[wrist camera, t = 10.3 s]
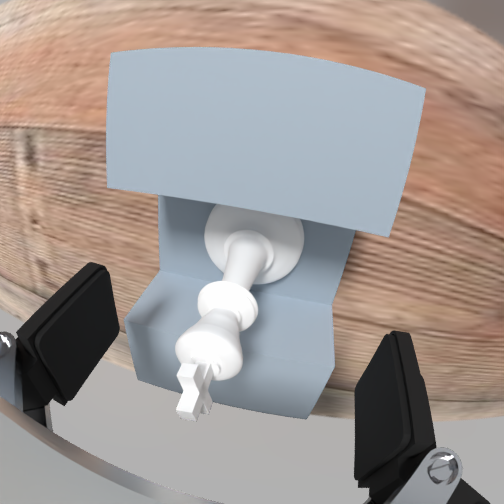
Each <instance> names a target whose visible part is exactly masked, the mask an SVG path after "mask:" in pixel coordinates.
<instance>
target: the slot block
mask: <svg viewBox="0 0 504 504" xmlns="http://www.w3.org/2000/svg"><path fill="white" fill-rule="evenodd" d="M425 91H426V88H423V87H420V86H417V85H415V84H412V83H409V82H406V81H403V80H400V79H397V78H394V77H390V76H387V75H384V74H380V73H377V72H373V71H370V70H366V69H362V68H358V67H354V66H350V65H346V64H342V63H337V62H332V61H328V60H323V59H317V58H312V57H306V56H300V55H293V54H286V53H279V52H271V51H261V50H250V49H237V48H215V47H175V48H154V49H141V50H130V51H121V52H113V53H111V58H110V68H109V80H108V95H107V119H106V164H107V188H113V189H121V190H128V191H136V192H143V193H150V194H157V195H158V225H159V259H160V271H159V272H158V274H157V275H156V276H155V278H154V279H153V280H152V282H151V283H150V284H149V286H148V287H147V288H146V290H145V291H144V292H143V294H142V295H141V296H140V298H139V299H138V301H137V302H136V303H135V305H134V306H133V307H132V309H131V310H130V312H129V313H128V314H127V316H126V317H125V319H124V323H125V328H126V333H127V337H128V342H129V346H130V351H131V355H132V359H133V363H134V367H135V371H136V375H137V378H138V380H140V381H143V382H146V383H149V384H152V385H155V386H158V387H162V388H165V389H168V390H171V391H175V392H178V393H181V394H182V393H183V389H182V386H181V384H180V382H179V380H178V378H177V373H178V371H179V369H180V367H181V363H180V361H179V360H178V358H177V356H176V352H175V345H176V342H177V340H178V338H179V337H180V336H181V335H182V334H183V333H184V332H185V331H186V330H187V329H189V328H190V327H192V326H193V325H195V324H196V323H197V322H198V321H199V320H200V319H201V318H202V317H201V315H200V313H199V311H198V295H199V293H200V291H201V290H202V289H203V287H205V286H206V285H208V284H209V283H212V282H216V281H222V279H223V275H224V273H223V272H222V271H221V270H220V269H219V268H218V267H217V266H216V265H215V264H214V263H213V261H212V260H211V258H210V256H209V254H208V252H207V249H206V246H205V239H204V233H205V226H206V223H207V220H208V218H209V215H210V213H211V211H212V210H213V208H214V207H215V205H216V204H221V205H227V206H233V207H239V208H245V209H250V210H256V211H262V212H267V213H273V214H278V215H283V216H289V217H294V218H299V219H300V220H301V223H302V226H303V230H304V246H303V250H302V253H301V255H300V258H299V260H298V262H297V264H296V265H295V267H294V268H293V269H292V270H291V271H290V272H289V273H288V274H287V275H286V276H284V277H283V278H281V279H279V280H277V281H274V282H271V283H267V284H253V285H252V287H251V288H250V290H249V292H250V293H251V294H252V295H253V296H254V298H255V300H256V302H257V305H258V315H257V318H256V320H255V321H254V322H253V323H252V325H251V326H250V327H249V328H247V329H246V330H244V331H241V332H239V333H240V335H239V338H240V344H241V347H242V354H243V365H242V368H241V370H240V372H239V373H238V374H237V375H236V376H234V377H232V378H230V379H227V380H221V381H214V380H211V382H210V385H209V388H208V392H209V394H210V397H211V399H212V402H215V403H220V404H224V405H228V406H233V407H237V408H242V409H247V410H252V411H257V412H262V413H268V414H274V415H280V416H286V417H293V418H300V419H307V418H308V416H309V414H310V413H311V411H312V409H313V407H314V406H315V404H316V402H317V400H318V398H319V396H320V394H321V393H322V391H323V389H324V387H325V385H326V383H327V381H328V379H329V377H330V375H331V373H332V371H333V369H334V367H335V358H334V335H333V317H332V303H333V300H334V297H335V294H336V292H337V289H338V286H339V283H340V280H341V277H342V274H343V271H344V267H345V264H346V261H347V258H348V255H349V252H350V248H351V245H352V242H353V238H354V235H355V232H356V230H358V231H362V232H367V233H371V234H376V235H380V236H385V237H389V234H390V231H391V228H392V225H393V222H394V219H395V216H396V213H397V209H398V206H399V203H400V199H401V196H402V192H403V189H404V185H405V182H406V178H407V174H408V171H409V167H410V163H411V159H412V155H413V151H414V146H415V142H416V137H417V133H418V128H419V123H420V119H421V113H422V108H423V103H424V97H425Z"/></svg>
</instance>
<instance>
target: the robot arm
mask: <svg viewBox="0 0 504 504" xmlns="http://www.w3.org/2000/svg"><path fill="white" fill-rule="evenodd" d="M119 329H120V327H119V322H118V317H117V312H116V307H115V302H114V297H113V291H112V285H111V279H110V274H109V272H108V271H107V269H106V267H105V266H103V265H100V264H96V263H93V262H89V263H88V264H87V265H85V266H84V267H83V268H82V269H81V270H80V271H79V272H78V273H76V274H75V275H74V276H73V277H72V278H71V279H70V280H69V281H68V282H67V283H65V284H64V285H63V286H62V287H61V288H60V289H59V290H58V291H57V292H56V293H55V294H54V295H53V296H52V297H51V298H50V299H49V300H48V301H46V302H45V303H44V304H43V305H42V306H41V307H40V308H39V309H38V310H37V311H36V312H35V313H34V314H33V315H32V316H31V317H30V318H29V319H28V320H27V321H26V322H25V323H24V324H23V326H22V327H21V328H20V329H19V330H18V331H17V332H16V333H17V335H18V338H17V339H16V340H15V338H14V336H13V335H12V334H11V333H8V332H0V504H223V503H218V502H215V501H211V500H207V499H203V498H200V497H196V496H193V495H190V494H186V493H183V492H180V491H177V490H174V489H171V488H168V487H165V486H163V485H160V484H157V483H154V482H152V481H149V480H147V479H144V478H142V477H139V476H137V475H134V474H132V473H129V472H127V471H125V470H123V469H121V468H118V467H116V466H114V465H112V464H110V463H108V462H106V461H104V460H102V459H100V458H97V457H96V456H94V455H91V454H90V453H88V452H86V451H84V450H82V449H80V448H79V447H77V446H75V445H73V444H72V443H70V442H68V441H67V440H64V439H63V438H62V437H60V436H58V435H57V434H55V433H53V429H52V422H51V414H50V405H49V402H50V401H51V399H52V398H53V399H54V400H55V401H57V402H58V403H60V404H62V405H63V406H65V405H66V403H67V401H71V400H72V399H73V398H74V397H75V395H76V394H77V392H78V391H79V389H80V388H81V387H82V385H83V384H84V382H85V380H86V379H87V378H88V376H89V375H90V374H91V372H92V371H93V369H94V368H95V366H96V365H97V364H98V362H99V361H100V359H101V358H102V357H103V355H104V354H105V352H106V351H107V350H108V348H109V347H110V345H111V344H112V343H113V341H114V340H115V339H116V337H117V336H118V333H119ZM461 476H462V463H461V460H460V458H459V456H458V455H457V454H456V453H455V452H454V451H453V450H451V449H449V448H444V447H440V448H436V441H435V435H434V429H433V422H432V417H431V411H430V406H429V401H428V396H427V391H426V387H425V382H424V379H423V377H422V376H421V374H420V370H419V366H418V362H417V358H416V354H415V350H414V346H413V342H412V339H411V336H410V334H409V333H406V332H400V331H392V332H391V333H390V334H386V335H385V336H384V338H383V340H382V341H381V343H380V345H379V347H378V349H377V351H376V352H375V354H374V356H373V358H372V359H371V361H370V363H369V365H368V366H367V368H366V370H365V371H364V373H363V375H362V376H361V378H360V380H359V381H358V383H357V385H356V388H355V462H354V478H355V480H358V488H369V498H368V499H367V501H366V502H365V503H364V504H490V503H489V501H487V500H486V499H485V498H484V497H482V496H481V495H480V494H479V493H478V492H477V491H476V490H474V489H473V488H472V487H471V486H469V485H468V484H467V483H466V482H465V481H464V480H462V479H461Z"/></svg>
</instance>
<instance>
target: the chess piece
mask: <svg viewBox="0 0 504 504" xmlns="http://www.w3.org/2000/svg"><path fill="white" fill-rule="evenodd" d="M204 239H205V246H206V249H207V252H208V254H209V256H210V258H211V260H212V261H213V263H214V264H215V265H216V266H217V267H218V268H219V269H220V270H221V271H222V272H223V273H224V275H223V279H222V281H216V282H212V283H209V284H208V285H206V286H205V287H203V289H202V290H201V291H200V293H199V295H198V311H199V313H200V315H201V317H202V318H201V319H200V320H199V321H198V322H197V323H196V324H195V325H193V326H192V327H190V328H189V329H187V330H186V331H185V332H184V333H183V334H182V335H181V336H180V337H179V338H178V340H177V342H176V345H175V352H176V356H177V358H178V360H179V361H180V363H181V367H180V369H179V371H178V373H177V378H178V380H179V382H180V384H181V386H182V389H183V393H182V396H181V398H180V401H179V403H178V406H177V408H176V411H177V413H178V415H179V416H180V418H181V419H185V420H191V421H197V419H198V416H199V414H200V413H203V414H209V412H210V409H211V406H212V403H213V402H212V399H211V397H210V394H209V392H208V388H209V385H210V382H211V380H214V381H221V380H227V379H230V378H232V377H234V376H236V375H237V374H238V373H239V372H240V370H241V368H242V365H243V354H242V347H241V344H240V338H239V335H240V333H239V332H241V331H244V330H246V329H247V328H249V327H250V326H251V325H252V323H253V322H254V321H255V320H256V318H257V315H258V305H257V302H256V300H255V298H254V296H253V295H252V294H251V293H250V292H249V290H250V288H251V287H252V285H253V284H267V283H271V282H274V281H277V280H279V279H281V278H283V277H284V276H286V275H287V274H288V273H289V272H290V271H291V270H292V269H293V268H294V267H295V265H296V264H297V262H298V260H299V258H300V255H301V253H302V250H303V246H304V230H303V226H302V223H301V220H300V219H299V218H294V217H289V216H283V215H278V214H273V213H267V212H262V211H256V210H250V209H245V208H239V207H233V206H227V205H221V204H216V205H215V207H214V208H213V210H212V211H211V213H210V215H209V218H208V220H207V223H206V226H205V233H204Z"/></svg>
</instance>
